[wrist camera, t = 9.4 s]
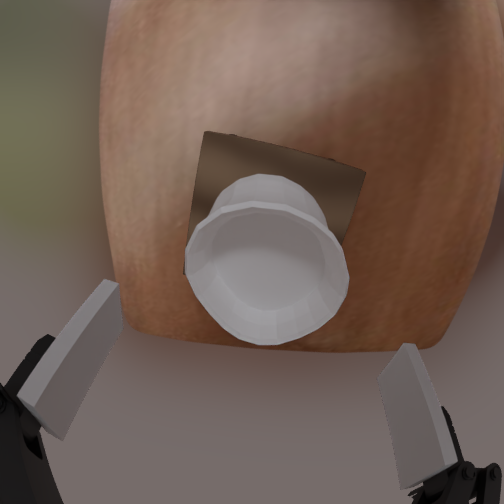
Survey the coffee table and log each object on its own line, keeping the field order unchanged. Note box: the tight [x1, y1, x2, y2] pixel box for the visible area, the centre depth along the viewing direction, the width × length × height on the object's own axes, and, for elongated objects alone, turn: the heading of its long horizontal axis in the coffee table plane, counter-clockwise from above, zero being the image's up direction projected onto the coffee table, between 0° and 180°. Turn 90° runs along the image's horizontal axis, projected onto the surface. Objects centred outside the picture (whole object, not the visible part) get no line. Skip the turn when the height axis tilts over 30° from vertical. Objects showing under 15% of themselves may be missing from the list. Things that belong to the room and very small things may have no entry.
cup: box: [185, 174, 349, 345], centre depth 20 cm, size 10×10×10 cm
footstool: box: [183, 131, 366, 275], centre depth 28 cm, size 14×14×8 cm
